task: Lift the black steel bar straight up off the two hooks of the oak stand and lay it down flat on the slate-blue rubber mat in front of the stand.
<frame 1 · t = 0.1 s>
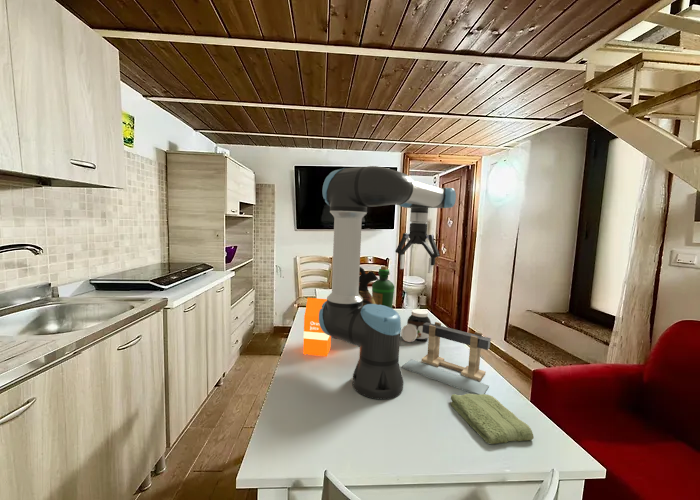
hand: (415, 270, 135), 28 cm above the table, tool pointing down, fingers open, 13 cm apart
ceramic jug: (358, 337, 129), on the table
bottle: (381, 324, 146), on the table
orange juice: (317, 351, 113), on the table
spread jar: (415, 339, 129), on the table
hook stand: (452, 367, 104), on the table
slate mat: (442, 376, 97), on the table
washcloth: (487, 421, 77), on the table
steel bar: (454, 339, 103), point 10 cm above the table, touching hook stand
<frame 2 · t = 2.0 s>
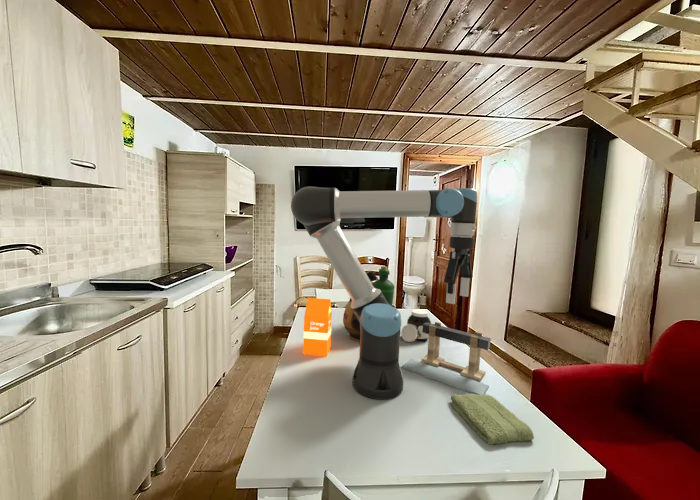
hand: (457, 299, 102), 24 cm above the table, tool pointing down, fingers open, 13 cm apart
nothing on the table moved.
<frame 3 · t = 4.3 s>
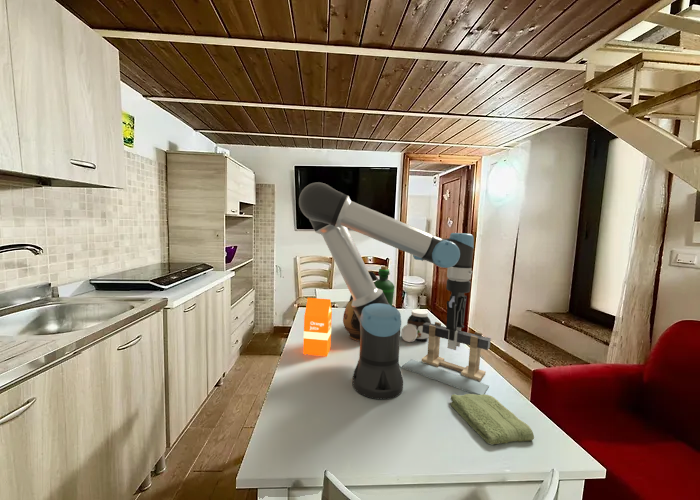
hand: (453, 346, 103), 7 cm above the table, tool pointing down, fingers closed on steel bar, 3 cm apart
steel bar: (454, 339, 103), point 10 cm above the table, touching gripper
everything else where it was.
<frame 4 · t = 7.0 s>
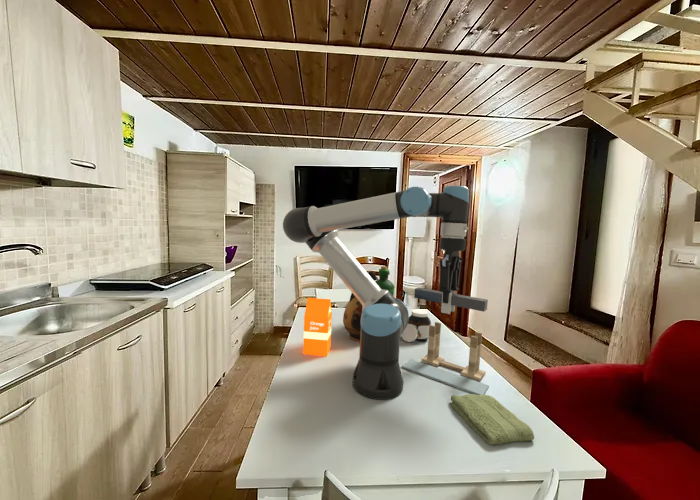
hand: (447, 311, 95), 22 cm above the table, tool pointing down, fingers closed on steel bar, 3 cm apart
steel bar: (448, 303, 95), point 24 cm above the table, touching gripper
everything else where it was.
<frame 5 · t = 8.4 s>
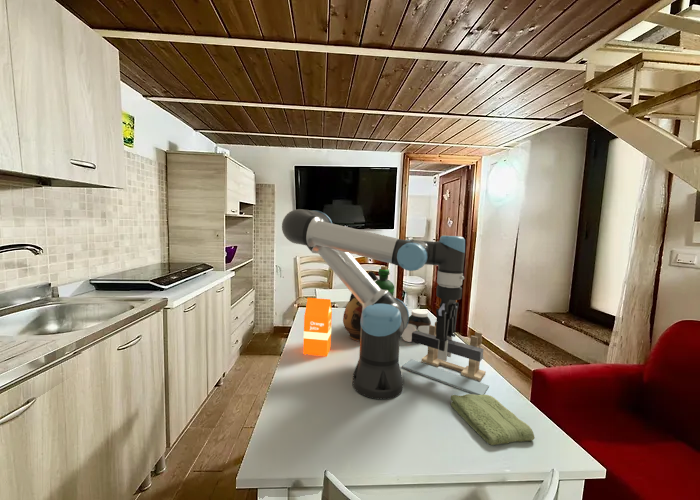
hand: (444, 357, 97), 7 cm above the table, tool pointing down, fingers closed on steel bar, 3 cm apart
steel bar: (445, 349, 96), point 9 cm above the table, touching gripper
everything else where it was.
when the fingers open (1 cm above the table, at t = 9.7 s): steel bar drops 3 cm, resting on slate mat.
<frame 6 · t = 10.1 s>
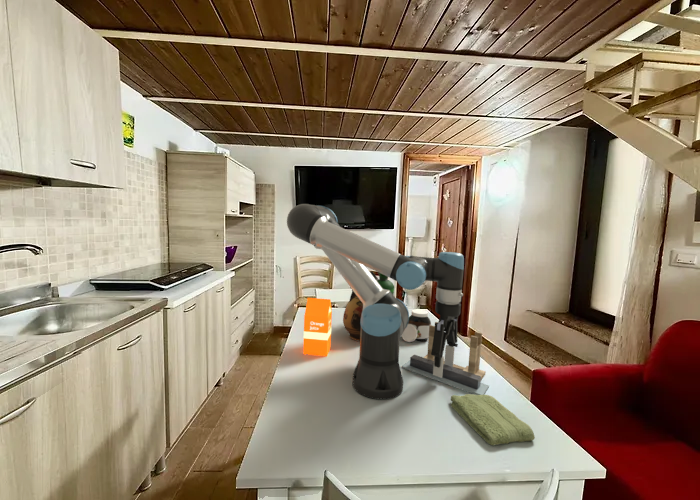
hand: (443, 370, 97), 2 cm above the table, tool pointing down, fingers open, 9 cm apart
steel bar: (443, 375, 97), point 1 cm above the table, touching slate mat
everything else where it was.
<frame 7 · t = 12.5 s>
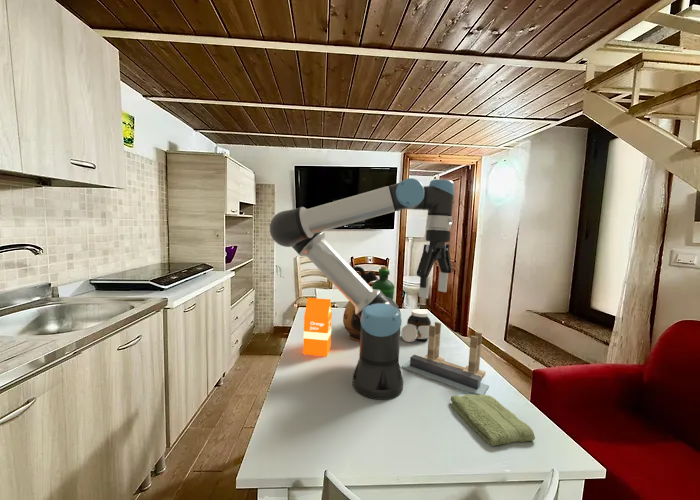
hand: (433, 294, 99), 26 cm above the table, tool pointing down, fingers open, 13 cm apart
nothing on the table moved.
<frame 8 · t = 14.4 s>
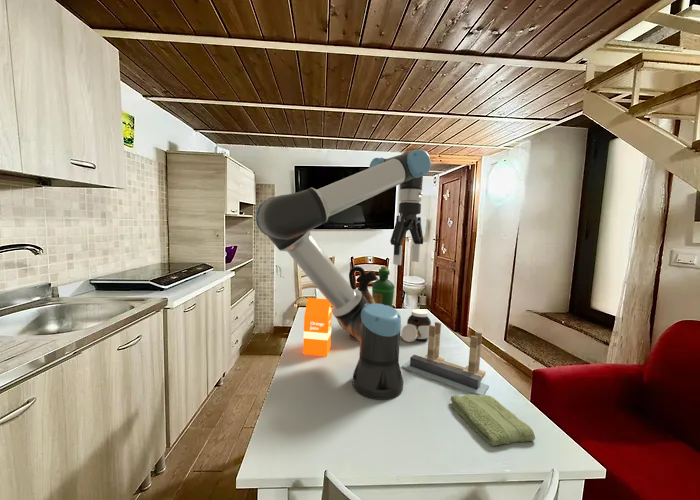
hand: (406, 263, 107), 35 cm above the table, tool pointing down, fingers open, 13 cm apart
nothing on the table moved.
at the end: steel bar inside the target area (0.1 cm from its centre), point 0.6 cm above the table; steel bar touching slate mat; the gripper is holding nothing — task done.
